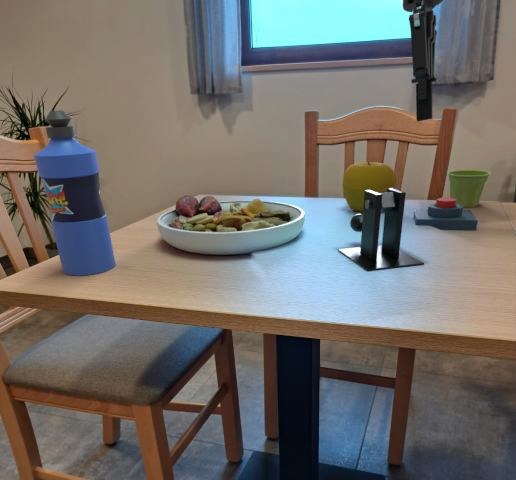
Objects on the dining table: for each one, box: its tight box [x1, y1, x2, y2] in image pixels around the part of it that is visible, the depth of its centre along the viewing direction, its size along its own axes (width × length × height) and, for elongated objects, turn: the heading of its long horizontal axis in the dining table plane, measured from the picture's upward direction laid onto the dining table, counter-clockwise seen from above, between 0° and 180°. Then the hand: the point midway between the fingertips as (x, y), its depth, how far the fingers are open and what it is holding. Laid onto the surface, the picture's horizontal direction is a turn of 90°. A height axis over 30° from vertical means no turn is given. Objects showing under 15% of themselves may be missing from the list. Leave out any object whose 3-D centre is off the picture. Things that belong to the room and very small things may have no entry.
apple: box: [341, 161, 397, 213], centre depth 114 cm, size 13×13×11 cm
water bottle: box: [33, 110, 116, 277], centre depth 77 cm, size 9×9×25 cm
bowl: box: [156, 194, 306, 256], centre depth 95 cm, size 30×30×8 cm
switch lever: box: [349, 192, 395, 233], centre depth 80 cm, size 13×3×3 cm
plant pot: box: [447, 169, 491, 208], centre depth 111 cm, size 9×9×9 cm
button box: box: [412, 202, 478, 232], centre depth 100 cm, size 12×10×4 cm
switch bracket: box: [337, 188, 425, 272], centre depth 77 cm, size 12×10×12 cm
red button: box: [435, 197, 457, 208], centre depth 99 cm, size 4×4×2 cm
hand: (424, 119), depth 90 cm, fingers closed
